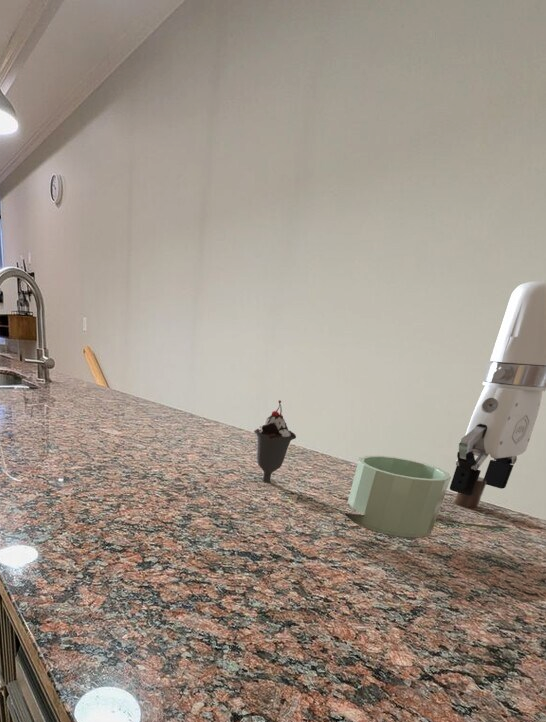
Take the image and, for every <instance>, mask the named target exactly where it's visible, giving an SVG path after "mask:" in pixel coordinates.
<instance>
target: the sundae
mask: <svg viewBox="0 0 546 722" xmlns="http://www.w3.org/2000/svg"><path fill="white" fill-rule="evenodd" d="M281 403H282V400H280V399H279V400H278V404H279V405H278V407H277V409H276V410H273V411H272V412H271V415H270V416H268V417H266V419H265V420H264V421H263V424H261V426H259V427H258V428H257V429H254V431H253V432H254V434H256V436H257V446H256V447H257V451H256V460H257V461H256V462H257V464H258V466H259V468H261V470H262V471H263V475H262V477H263V478H262V481H261V482H264V483H271V478H272V477H271V476H272V474H273V473H274V472H276V471H277V470H279V469H280V468H281V467H282V466H283V463H284V460H285V457H286V455H287V451H288V448H289V446H290V444H291V441H292V440H295V439H296V438H297V435H296V434H295V432H293V431H291V430H289V428H288V425H287V423H286V421H285V419H284V416H283V414H282V412H283V411H282V410H283V409H282V405H281ZM279 410H280V413H279V412H278V411H279Z"/></svg>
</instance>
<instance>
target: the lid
mask: <svg viewBox="0 0 546 722" xmlns="http://www.w3.org/2000/svg"><path fill="white" fill-rule="evenodd" d="M486 483H487V480H486V479H484V477H481V476H479V478H478V480H477V483H476V486H475V489H474V492H473V494H472V495H470V496H468V495H464V494H461V493H458V492H456V496H455V499H454V502H453V503H454V504H455V505H456V506H459V507H462V508H466V509H474V510H475V509H477V508H478V506H479V504H480V501H481V499H482V496H483V493H484V491H485V488H486ZM460 524H462V525H465V526H466V525H467V526H471V527H475V528H481V529H483V528H484V529H493V530H495V529H496V530H499V529H501V530H503V529H508V526H501V525H489V524H488V525H487V524H478V523H477V524H475V523H465V522H460Z"/></svg>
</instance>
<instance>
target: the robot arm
mask: <svg viewBox="0 0 546 722" xmlns="http://www.w3.org/2000/svg"><path fill="white" fill-rule="evenodd" d="M481 385H482V386H484V387H483V389H482V391H481V393H480V396H479V398H478V400H477V402H476V405H475V408H474V410H473V412H472V415H471V417H470V420H469V423H468V426H467V429H466V432H465V435H464V436H463V437H461V438H460V440H459V442H458V451H457V454H456V457H457V460H456V461H455V470H454V473H453V476H452V478H451V483H450V486H449V490H450V491H452V492H455V493H461V494H464V495H468V496H470V495H472V494H473V492H474V489H475V486H476V483H477V480H478V478H479V477H480V474H481V472H482V471H481V470H480V469H479V468H480V467H481V466H482V464H483V463H484V462H485V460H486V459H487V457H488V456H490V458H492V459H490V460H489V462H488V465H487V468H486V471H485V474H484V476H483V478H484V479H486V480H487V483H486V485H487V486H491V487H493V488H497V489H505V488H506V487H507V484H508V481H509V479H510V476H511V473H512V472H513V469H514V465H515V464H516V462H517V460H518V456H520V455H522V454H524V453H525V452H526V451H527V448H528V446H529V443H530V440H531V437H532V433H533V431H534V427H535V424H536V421H537V417H538V414H539V410H540V408H541V407H540V406H541V402H542V397H543V392H546V280H536V281H535V280H533V281H527V282H524V283H520V284H519V285H518V286H516V288H514V290H513V291H512V293H511V295H510V297H509V300H508V304H507V306H506V310H505V313H504V316H503V319H502V323H501V325H500V329H499V331H498V334H497V338H496V340H495V344H494V347H493V350H492V353H491V357H490V360H489V363H488V365H487V368H486V372H485V374H484V377H483V381H482V384H481ZM475 456H476V457H475ZM475 458H476V459H475Z"/></svg>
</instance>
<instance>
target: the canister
mask: <svg viewBox="0 0 546 722" xmlns="http://www.w3.org/2000/svg"><path fill="white" fill-rule="evenodd" d="M357 460H358V461H357V464H356V468H355V472H354V475H353V480H352V484H351V487H350V490H349V495H348V499H347V504H348V505H349V506H350V507H351V508H352V509H354V510H355V511H357V512H358V513H361V514H355V513H345V515H346V517H347V518H348V519H349V520H350V521H352V522H354V523H355V524H356V525H359V526H361V527H362V528H364V529H368V530H370V531H374V532H376V533H377V532H378V533H379V534H380V533H381V534H384V535H387V536H393V537H398V538H399V537H400V538H410V539H411V538H412V539H413V538H414V539H416V538H417V539H418V538H424V537H427V536H429V535H431V533H432V531H433V530H434V527H435V525H436V521H437V518H438V516H439V513H440V510H441V507H442V504H443V501H444V498H445V495H446V493H447V489H448V487H449V484H450V481H451V479H452V478H451V475H450V473H448V472H447V471H446V470H443V469H441V468H440V467H437V466H435V465H431V464H428V463H425V462H420V461H417V460H413V459H408V458H402V457H396V456H388V455H363V456H359V458H358V459H357Z"/></svg>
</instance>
